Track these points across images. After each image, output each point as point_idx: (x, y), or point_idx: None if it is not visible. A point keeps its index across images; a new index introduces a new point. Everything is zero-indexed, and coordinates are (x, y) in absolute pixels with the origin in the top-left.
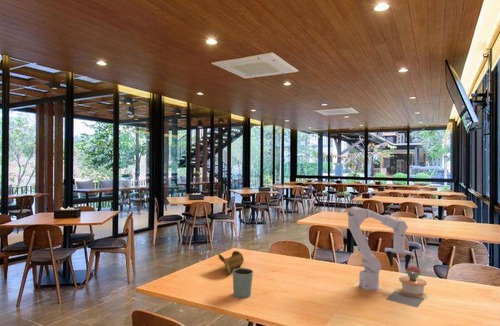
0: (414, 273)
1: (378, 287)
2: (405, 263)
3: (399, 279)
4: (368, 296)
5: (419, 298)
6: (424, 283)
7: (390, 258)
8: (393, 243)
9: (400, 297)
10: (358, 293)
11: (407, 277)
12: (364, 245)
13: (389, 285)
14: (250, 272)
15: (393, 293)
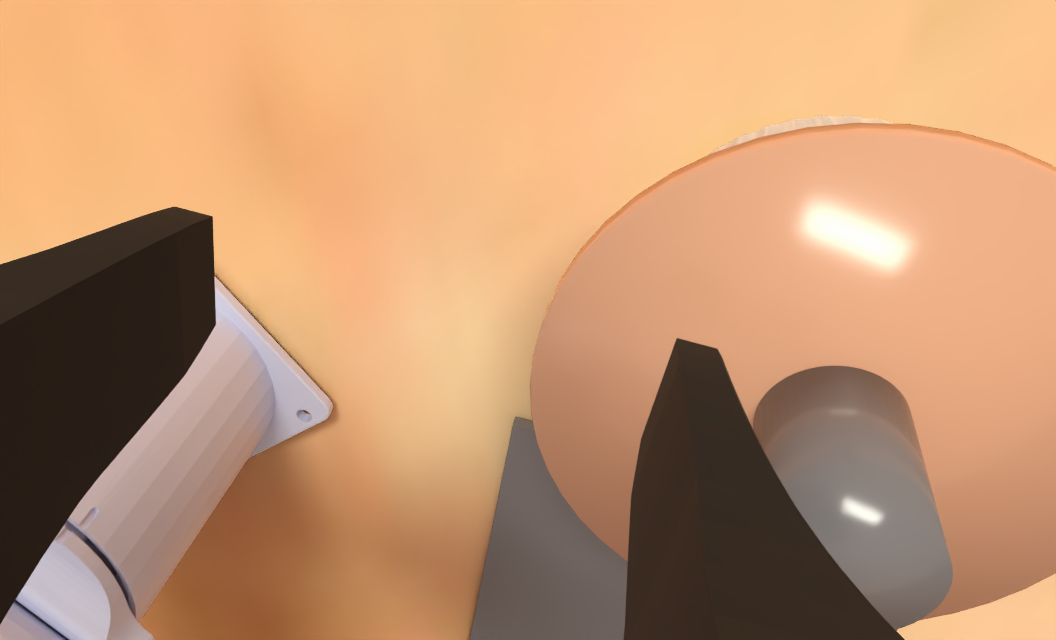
0: (894, 612)
1: (272, 393)
2: (633, 626)
3: (547, 464)
4: (279, 631)
5: None
6: None
7: (27, 560)
8: None
9: (614, 599)
10: (160, 591)
11: (720, 255)
12: None
13: (381, 137)
14: None
15: (513, 510)
